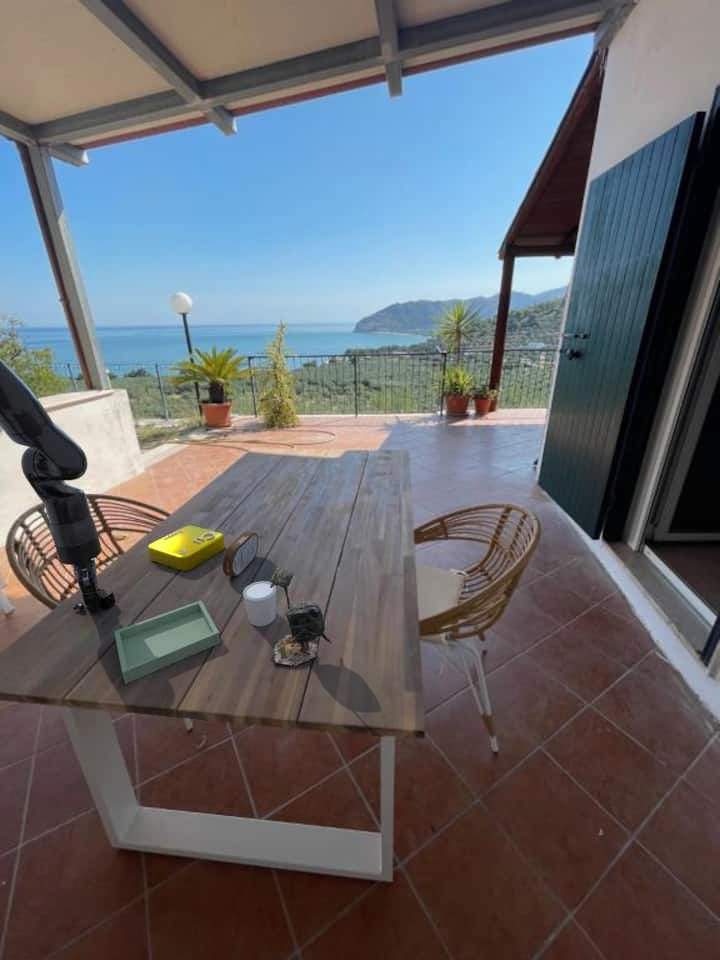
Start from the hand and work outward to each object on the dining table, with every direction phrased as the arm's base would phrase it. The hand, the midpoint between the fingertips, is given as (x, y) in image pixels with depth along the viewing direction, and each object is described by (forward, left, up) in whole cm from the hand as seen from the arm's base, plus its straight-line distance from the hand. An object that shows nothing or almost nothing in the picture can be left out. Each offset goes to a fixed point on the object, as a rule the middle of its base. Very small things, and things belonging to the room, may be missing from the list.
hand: (94, 603), depth 88 cm
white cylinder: (+29, -26, -1) cm, 39 cm away
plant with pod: (+31, -40, -1) cm, 51 cm away
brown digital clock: (+33, -4, -1) cm, 33 cm away
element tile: (+23, +12, -1) cm, 26 cm away
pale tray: (+11, -22, -1) cm, 25 cm away
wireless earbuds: (0, 0, -1) cm, 1 cm away
